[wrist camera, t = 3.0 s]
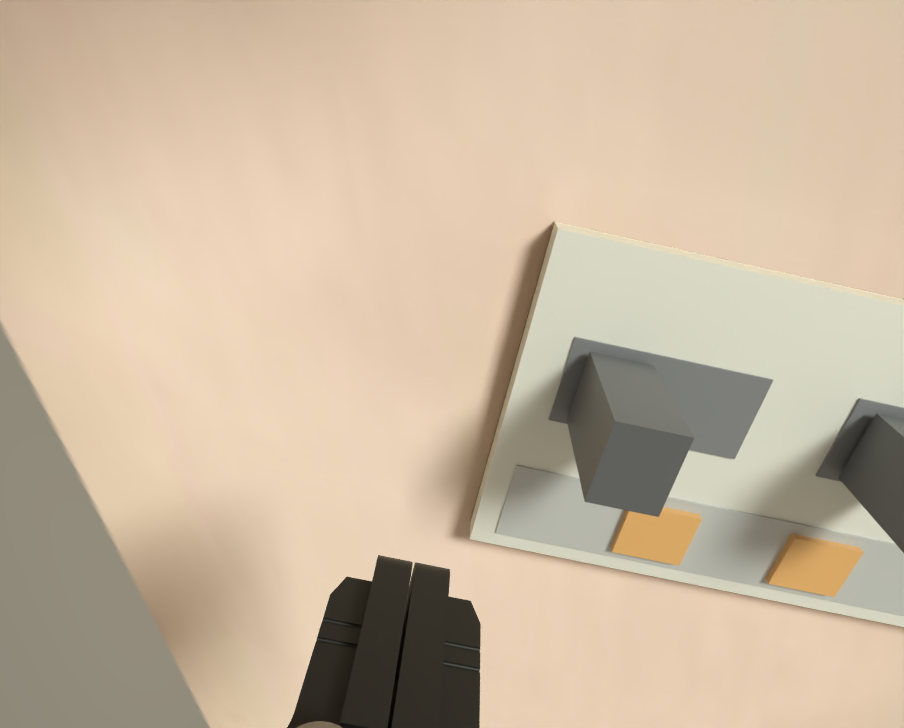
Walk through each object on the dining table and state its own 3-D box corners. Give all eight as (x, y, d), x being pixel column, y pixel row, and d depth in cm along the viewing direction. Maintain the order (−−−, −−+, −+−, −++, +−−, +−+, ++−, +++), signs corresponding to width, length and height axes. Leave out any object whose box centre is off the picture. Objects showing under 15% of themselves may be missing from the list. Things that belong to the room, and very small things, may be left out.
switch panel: (554, 221, 22) (559, 231, 21) (1399, 409, 23) (1459, 431, 22) (470, 521, 28) (469, 545, 26) (1145, 658, 29) (1180, 689, 28)
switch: (589, 351, 22) (614, 420, 18) (653, 365, 22) (694, 437, 18) (566, 420, 24) (584, 501, 19) (626, 433, 24) (658, 517, 19)
